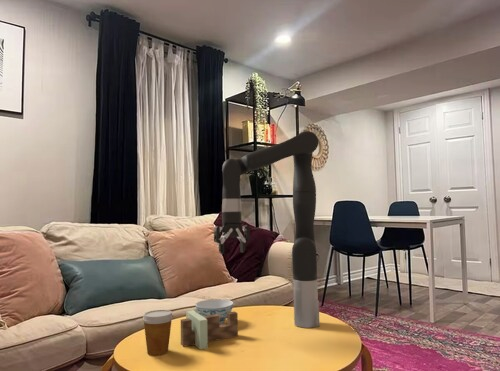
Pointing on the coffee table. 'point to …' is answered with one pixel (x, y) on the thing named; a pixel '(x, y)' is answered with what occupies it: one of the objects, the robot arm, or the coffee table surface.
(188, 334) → the rail
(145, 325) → the disposable coffee cup
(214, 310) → the chinaware
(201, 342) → the cross piece
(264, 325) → the coffee table surface
